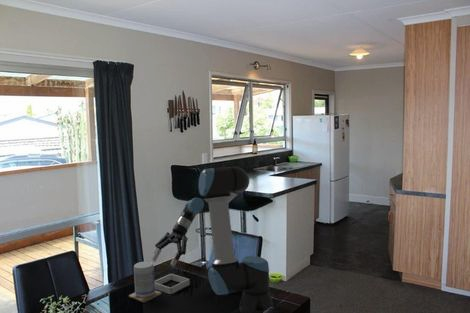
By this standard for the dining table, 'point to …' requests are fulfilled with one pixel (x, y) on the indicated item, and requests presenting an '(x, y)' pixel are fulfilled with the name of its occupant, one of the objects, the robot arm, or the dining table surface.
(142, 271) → the supplement tub
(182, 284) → the grey square frame
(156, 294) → the birch board
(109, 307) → the dining table surface
